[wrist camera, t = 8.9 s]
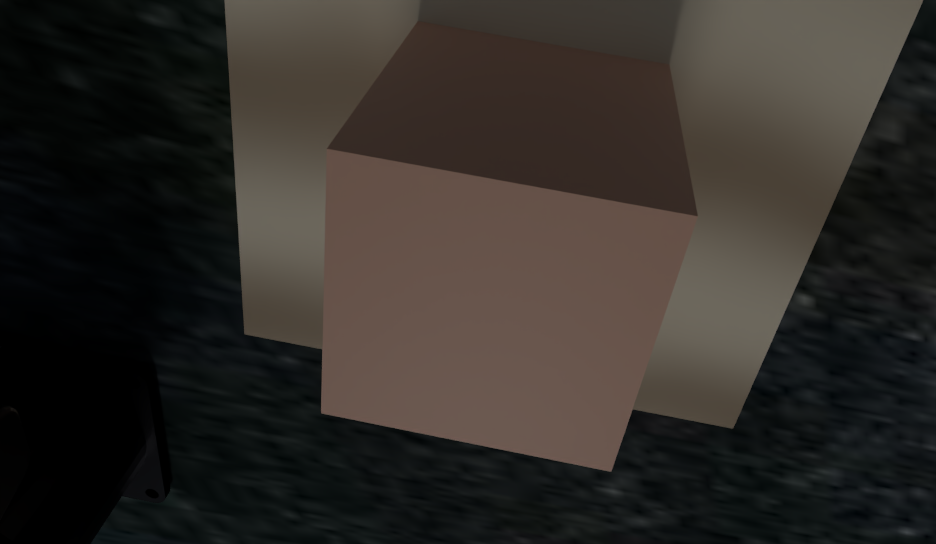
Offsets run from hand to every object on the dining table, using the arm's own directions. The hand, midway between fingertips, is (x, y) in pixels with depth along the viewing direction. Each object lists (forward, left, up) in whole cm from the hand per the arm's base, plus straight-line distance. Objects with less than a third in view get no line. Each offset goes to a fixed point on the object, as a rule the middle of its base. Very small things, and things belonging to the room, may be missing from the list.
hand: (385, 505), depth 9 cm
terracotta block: (0, -1, -9) cm, 9 cm away
